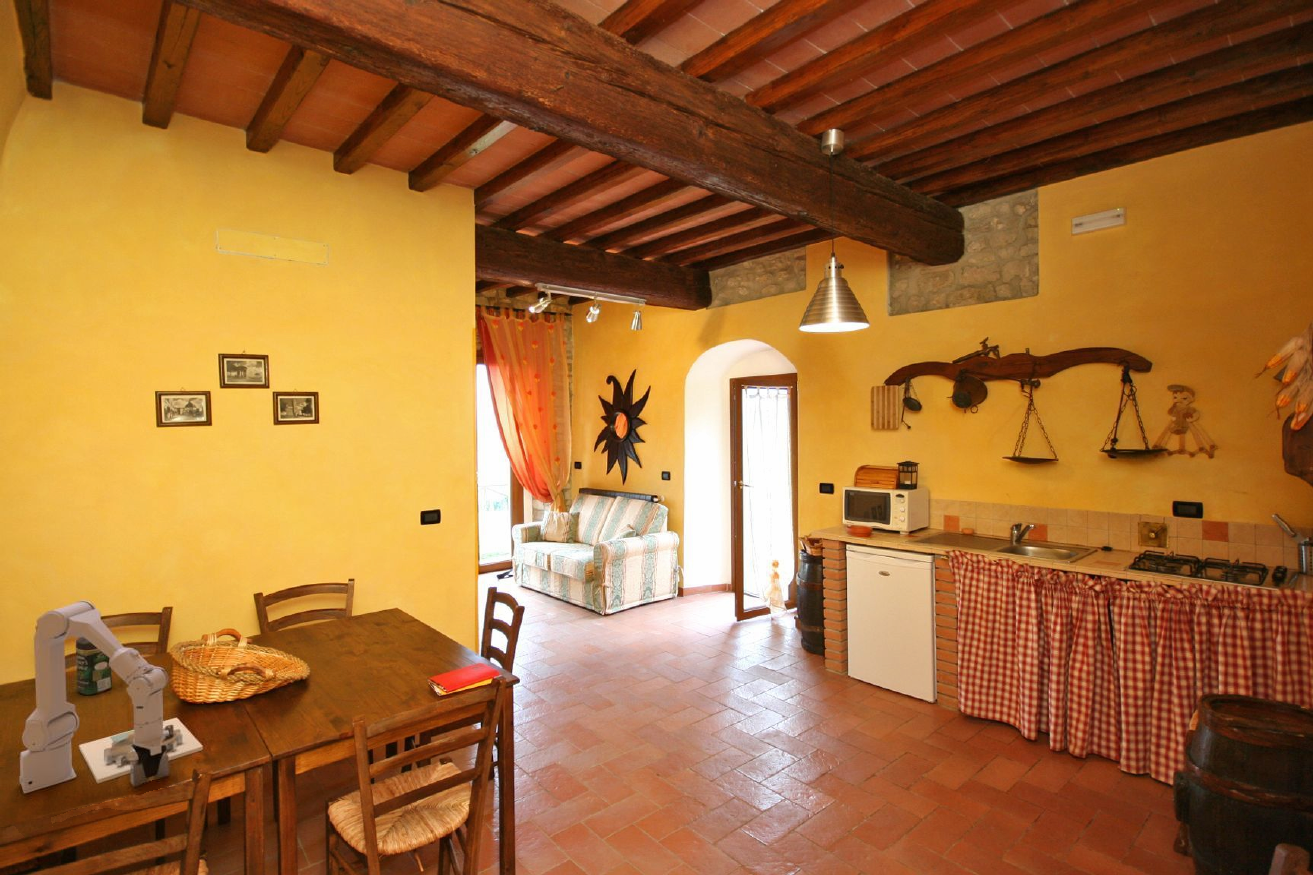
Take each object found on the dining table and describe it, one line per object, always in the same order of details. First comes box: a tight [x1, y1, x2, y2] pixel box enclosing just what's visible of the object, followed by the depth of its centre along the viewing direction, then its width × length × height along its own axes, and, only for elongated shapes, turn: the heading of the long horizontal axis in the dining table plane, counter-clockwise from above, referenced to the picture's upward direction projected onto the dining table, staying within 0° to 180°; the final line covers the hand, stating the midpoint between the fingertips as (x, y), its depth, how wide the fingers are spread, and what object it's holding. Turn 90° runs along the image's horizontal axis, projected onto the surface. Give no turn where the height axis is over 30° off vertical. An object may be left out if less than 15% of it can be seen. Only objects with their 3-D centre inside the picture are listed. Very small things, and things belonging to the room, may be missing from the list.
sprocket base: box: [78, 717, 204, 784], centre depth 178 cm, size 22×26×1 cm
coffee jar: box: [75, 637, 113, 696], centre depth 217 cm, size 10×8×19 cm
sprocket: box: [104, 725, 183, 766], centre depth 176 cm, size 17×17×5 cm
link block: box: [129, 752, 170, 788], centre depth 164 cm, size 7×4×5 cm, turn 139°
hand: (149, 773), depth 164 cm, fingers closed on link block, 3 cm apart
